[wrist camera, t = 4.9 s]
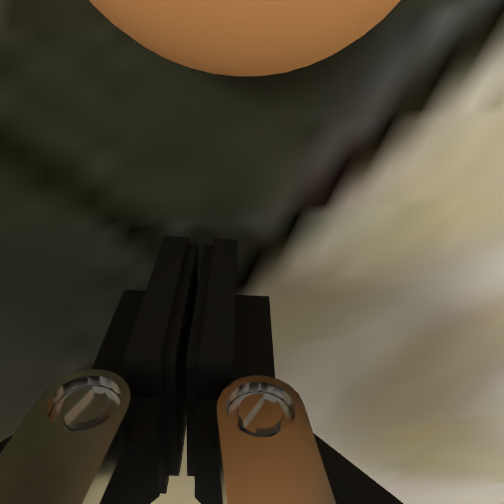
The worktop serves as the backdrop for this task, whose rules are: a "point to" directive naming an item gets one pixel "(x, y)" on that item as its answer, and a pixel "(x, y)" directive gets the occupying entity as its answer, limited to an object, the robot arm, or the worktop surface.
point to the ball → (245, 30)
